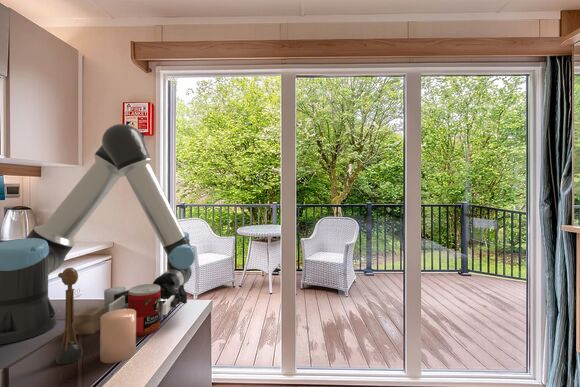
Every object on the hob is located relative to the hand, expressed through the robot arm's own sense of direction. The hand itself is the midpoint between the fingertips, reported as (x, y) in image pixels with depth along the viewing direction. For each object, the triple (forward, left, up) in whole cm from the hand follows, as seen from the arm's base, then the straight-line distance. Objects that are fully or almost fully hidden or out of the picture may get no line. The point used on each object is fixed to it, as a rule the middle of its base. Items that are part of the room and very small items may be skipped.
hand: (137, 309), depth 76 cm
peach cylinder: (+4, -8, -7) cm, 11 cm away
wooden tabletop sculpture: (-5, -13, -7) cm, 16 cm away
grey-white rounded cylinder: (-18, +8, -7) cm, 21 cm away
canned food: (-1, +3, -7) cm, 7 cm away
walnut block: (-14, -3, -7) cm, 16 cm away
